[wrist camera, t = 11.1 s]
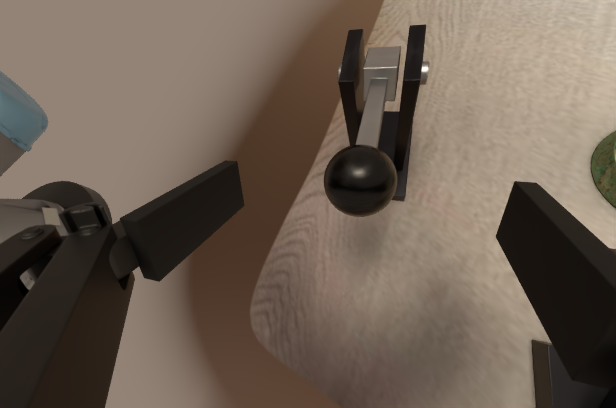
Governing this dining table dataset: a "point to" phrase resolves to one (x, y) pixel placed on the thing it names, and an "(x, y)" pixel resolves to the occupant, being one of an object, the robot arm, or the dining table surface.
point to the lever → (367, 144)
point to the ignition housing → (564, 383)
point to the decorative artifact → (606, 167)
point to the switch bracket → (393, 123)
